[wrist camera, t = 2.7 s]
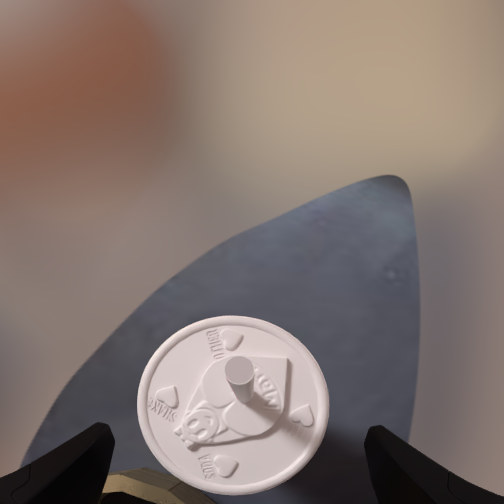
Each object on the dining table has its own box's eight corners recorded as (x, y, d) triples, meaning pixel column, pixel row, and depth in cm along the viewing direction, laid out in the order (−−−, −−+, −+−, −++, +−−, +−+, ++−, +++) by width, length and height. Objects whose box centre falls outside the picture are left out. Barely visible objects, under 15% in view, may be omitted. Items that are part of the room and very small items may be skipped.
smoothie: (313, 418, 16) (443, 385, 5) (234, 481, 14) (195, 591, 2) (247, 348, 19) (239, 195, 7) (170, 405, 17) (24, 343, 5)
